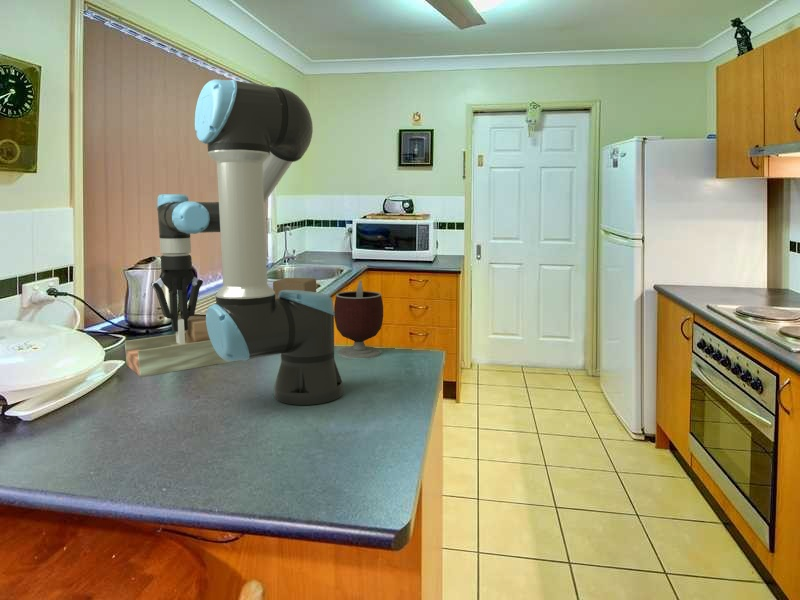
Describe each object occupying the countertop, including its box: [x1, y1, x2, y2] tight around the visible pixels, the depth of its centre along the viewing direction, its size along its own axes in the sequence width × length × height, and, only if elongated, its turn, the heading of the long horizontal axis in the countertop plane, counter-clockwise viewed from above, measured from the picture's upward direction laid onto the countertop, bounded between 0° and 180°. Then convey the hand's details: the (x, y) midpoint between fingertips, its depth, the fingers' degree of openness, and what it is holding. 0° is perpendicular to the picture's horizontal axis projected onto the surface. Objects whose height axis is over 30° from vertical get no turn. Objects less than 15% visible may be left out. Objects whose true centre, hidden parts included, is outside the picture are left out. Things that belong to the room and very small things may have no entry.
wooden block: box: [272, 277, 317, 299], centre depth 171 cm, size 10×10×20 cm
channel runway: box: [124, 332, 234, 378], centre depth 155 cm, size 14×34×6 cm, turn 129°
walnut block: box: [185, 316, 210, 343], centre depth 155 cm, size 7×7×7 cm
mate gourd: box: [333, 279, 384, 359], centre depth 163 cm, size 16×14×20 cm
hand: (180, 342), depth 152 cm, fingers closed
